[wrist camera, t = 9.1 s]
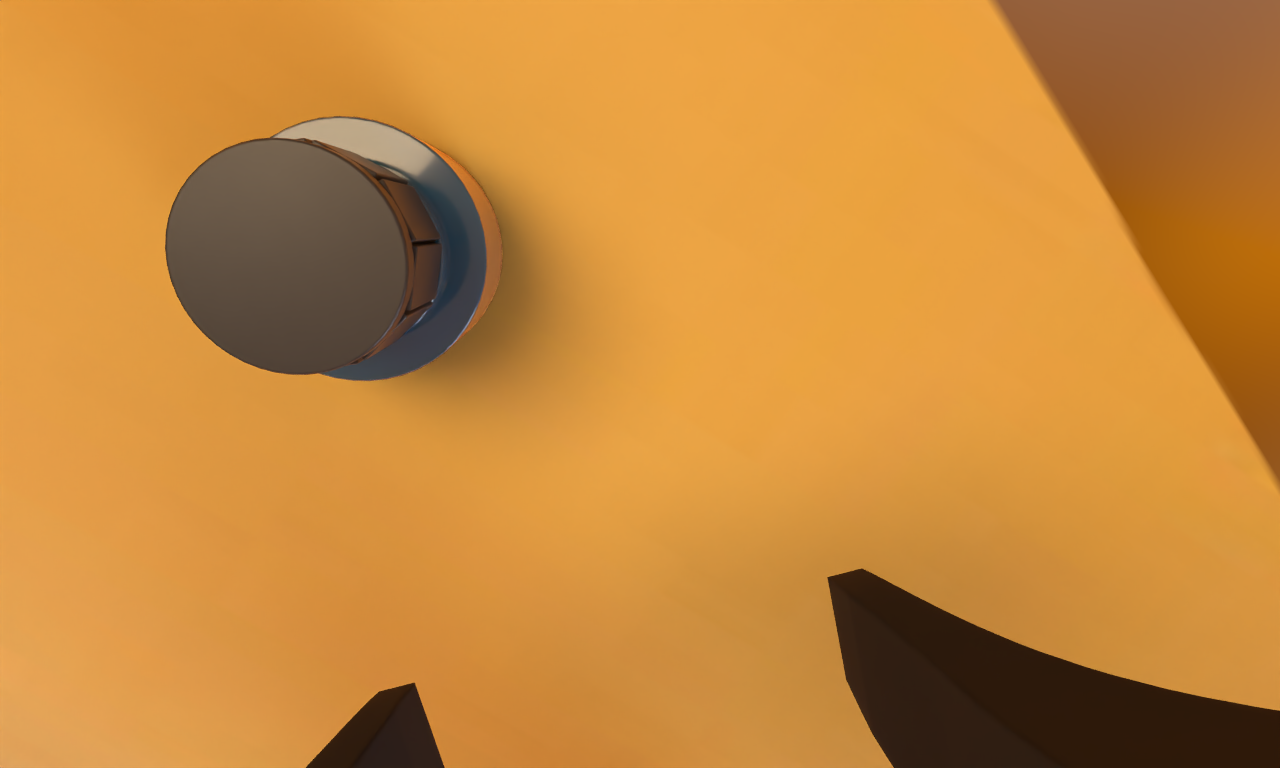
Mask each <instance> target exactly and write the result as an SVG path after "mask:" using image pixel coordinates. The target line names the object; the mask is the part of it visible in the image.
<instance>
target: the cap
mask: <svg viewBox="0 0 1280 768" xmlns="http://www.w3.org/2000/svg"><path fill="white" fill-rule="evenodd" d="M407 184H408V181H407V180H405V179H403V178H401V177H399V176H398V175H396V174H394V173H392V172H390V171H388V170H386V169H384V168H383V167H381V166H379V165H377V164H375V163H373V162H371V161H369V160H368V159H366V158H364V157H362V156H360V155H358V154H356V153H353V152H350V151H347V150H344V149H341V148H338V147H335V146H332V145H329V144H326V143H323V142H320V141H317V140H310V139H307V138H299V139H290V138H262V139H254V140H250V141H245V142H241V143H238V144H236V145H233V146H230V147H228V148H225V149H224V150H222V151H220V152H218V153H216V154H215V155H213V156H211V157H210V158H209V159H207V160H206V161H205V162H204V163H202V164H201V165H200V166H199V167H198V168H197V169H196V170H195V171H194V172H193V173H192V174H191V175H190V176H189V177H188V179H187V180H186V182H185V183H184V185H183V186H182V187H181V189H180V190H179V192H178V194H177V197H176V199H175V201H174V203H173V205H172V208H171V211H170V215H169V218H168V223H167V229H166V244H165V250H166V259H167V266H168V270H169V274H170V278H171V282H172V284H173V287H174V289H175V292H176V294H177V297H178V298H179V300H180V302H181V304H182V306H183V308H184V309H185V311H186V312H187V314H188V315H189V317H190V318H191V319H192V321H193V322H194V323H195V324H196V326H197V327H198V328H199V329H200V330H201V331H202V332H203V333H204V334H205V335H206V336H207V337H208V338H209V339H210V340H211V341H212V342H214V343H215V344H216V345H217V346H219V347H220V348H221V349H223V350H224V351H226V352H227V353H229V354H230V355H232V356H234V357H236V358H238V359H239V360H241V361H243V362H245V363H248V364H250V365H253V366H255V367H258V368H261V369H264V370H268V371H272V372H276V373H283V374H292V375H308V374H317V373H323V372H328V371H332V370H336V369H338V368H341V367H343V366H347V365H354V364H358V363H360V362H361V361H363V360H366V359H368V358H370V357H371V356H373V355H375V354H376V353H378V352H379V351H381V350H383V349H384V348H386V347H388V346H389V345H391V344H392V343H394V342H396V341H397V340H398V339H399V338H400V337H401V336H402V335H403V334H404V333H405V332H406V331H407V330H408V329H409V328H410V327H411V326H412V325H413V324H414V323H415V322H416V321H417V320H418V319H419V318H420V317H421V316H422V315H423V314H424V313H425V312H426V311H427V310H428V309H429V308H430V307H431V306H432V305H433V303H432V302H431V300H433V299H435V298H436V294H437V286H438V278H439V269H440V261H441V253H442V244H441V243H436V242H435V241H437V240H439V239H440V238H441V237H440V235H439V233H438V231H437V229H436V227H435V225H434V224H433V222H432V220H431V218H430V216H429V214H428V213H427V211H426V209H425V207H424V205H423V203H422V201H421V200H420V198H419V196H418V194H417V192H416V190H415V189H414V187H413V186H409V185H407Z"/></svg>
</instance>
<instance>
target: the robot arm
mask: <svg viewBox="0 0 1280 768" xmlns="http://www.w3.org/2000/svg"><path fill="white" fill-rule="evenodd" d="M828 583H829V588H830V593H831V599H832V604H833V610H834V615H835V621H836V626H837V632H838V637H839V642H840V648H841V653H842V659H843V664H844V670H845V675H846V680H847V682H848V684H849V686H850V688H851V691H852V693H853V695H854V697H855V699H856V701H857V703H858V705H859V707H860V710H861V712H862V714H863V716H864V718H865V720H866V722H867V724H868V726H869V728H870V730H871V732H872V734H873V735H874V737H875V739H876V740H877V742H878V743H879V745H880V747H881V748H882V750H883V751H884V753H885V755H886V756H887V758H888V759H889V761H890V762H891V764H892V766H893V767H894V768H1280V711H1277V710H1271V709H1265V708H1259V707H1253V706H1248V705H1243V704H1237V703H1232V702H1227V701H1221V700H1216V699H1211V698H1205V697H1200V696H1196V695H1191V694H1187V693H1182V692H1178V691H1173V690H1169V689H1164V688H1160V687H1156V686H1153V685H1149V684H1145V683H1141V682H1137V681H1133V680H1130V679H1126V678H1122V677H1118V676H1114V675H1111V674H1107V673H1104V672H1100V671H1097V670H1094V669H1090V668H1087V667H1084V666H1081V665H1078V664H1075V663H1072V662H1069V661H1066V660H1063V659H1060V658H1057V657H1054V656H1051V655H1048V654H1045V653H1042V652H1039V651H1037V650H1034V649H1031V648H1029V647H1026V646H1023V645H1021V644H1018V643H1016V642H1013V641H1011V640H1009V639H1006V638H1004V637H1001V636H999V635H997V634H994V633H992V632H990V631H987V630H985V629H983V628H980V627H978V626H976V625H974V624H971V623H969V622H967V621H965V620H963V619H960V618H958V617H956V616H954V615H952V614H950V613H948V612H946V611H944V610H942V609H940V608H938V607H936V606H934V605H932V604H930V603H928V602H926V601H924V600H922V599H920V598H918V597H916V596H914V595H912V594H910V593H908V592H907V591H905V590H903V589H901V588H899V587H897V586H895V585H893V584H891V583H889V582H888V581H886V580H884V579H882V578H880V577H878V576H876V575H874V574H872V573H870V572H868V571H866V570H864V569H858V570H854V571H850V572H846V573H843V574H839V575H835V576H831V577H828ZM306 768H444V765H443V762H442V759H441V757H440V754H439V751H438V748H437V745H436V742H435V739H434V737H433V734H432V731H431V728H430V725H429V722H428V720H427V717H426V714H425V711H424V708H423V705H422V703H421V700H420V697H419V694H418V691H417V688H416V686H415V683H411V684H407V685H403V686H399V687H396V688H392V689H388V690H384V691H380V692H378V693H377V694H376V695H375V696H374V697H373V698H372V699H370V700H369V701H368V702H367V703H366V704H365V705H364V706H363V707H362V708H361V709H360V710H359V711H358V712H357V714H356V715H355V716H354V717H353V718H352V719H351V720H350V721H349V722H348V723H347V724H346V725H345V726H344V727H343V728H342V729H341V730H340V732H339V733H338V734H337V735H336V736H335V737H334V738H333V739H332V740H331V741H330V742H329V743H328V744H327V745H326V747H325V748H324V749H323V750H322V751H321V752H320V753H319V754H318V755H317V756H316V757H315V758H314V759H313V760H312V761H311V762H310V764H309V765H308V766H307V767H306Z"/></svg>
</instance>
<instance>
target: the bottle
mask: <svg viewBox="0 0 1280 768" xmlns="http://www.w3.org/2000/svg"><path fill="white" fill-rule="evenodd" d="M270 138H290V139H299V138H307V139H310V140H317V141H320V142H323V143H326V144H329V145H332V146H335V147H338V148H341V149H344V150H347V151H350V152H353V153H356V154H358V155H360V156H362V157H364V158H366V159H368V160H369V161H371V162H373V163H375V164H377V165H379V166H381V167H383V168H384V169H386V170H388V171H390V172H392V173H394V174H396V175H398V176H399V177H401V178H403V179H405V180H407V181H408V184H407V185H409V186H413V187H414V189H415V190H416V192H417V194H418V196H419V198H420V200H421V201H422V203H423V205H424V207H425V209H426V211H427V213H428V214H429V216H430V218H431V220H432V222H433V224H434V225H435V227H436V229H437V231H438V233H439V235H440V237H441V238H440V239H439V240H437V241H435V242H436V243H441V244H442V253H441V261H440V269H439V278H438V286H437V294H436V298H435V299H433V300H431V302H432V303H433V305H432V306H431V307H430V308H429V309H428V310H427V311H426V312H425V313H424V314H423V315H422V316H421V317H420V318H419V319H418V320H417V321H416V322H415V323H414V324H413V325H412V326H411V327H410V328H409V329H408V330H407V331H406V332H405V333H404V334H403V335H402V336H401V337H400V338H399V339H398V340H397V341H396V342H394V343H392V344H391V345H389V346H388V347H386V348H384V349H383V350H381V351H379V352H378V353H376V354H375V355H373V356H371V357H370V358H368V359H366V360H363V361H361V362H360V363H358V364H354V365H347V366H343V367H341V368H338V369H336V370H332V371H328V372H323V373H319V374H322V375H326V376H330V377H334V378H338V379H345V380H352V381H374V380H384V379H389V378H394V377H398V376H402V375H405V374H408V373H410V372H413V371H415V370H418V369H420V368H422V367H423V366H425V365H427V364H429V363H431V362H433V361H434V360H435V359H437V358H438V357H439V356H441V355H442V354H443V353H445V352H446V351H447V350H448V349H449V348H450V347H451V346H453V345H454V344H455V343H456V342H457V341H458V340H459V339H460V338H461V337H462V336H463V335H465V334H466V333H467V332H468V331H469V330H470V329H471V328H472V327H473V326H474V325H475V324H476V323H477V322H478V321H479V319H480V318H481V317H482V315H483V314H484V313H485V311H486V310H487V308H488V306H489V305H490V303H491V301H492V299H493V297H494V294H495V292H496V289H497V286H498V283H499V279H500V275H501V268H502V240H501V233H500V229H499V225H498V221H497V218H496V215H495V213H494V211H493V208H492V206H491V203H490V202H489V200H488V198H487V196H486V195H485V193H484V191H483V190H482V188H481V187H480V186H479V184H478V183H477V182H476V180H475V179H474V178H473V177H472V176H471V175H470V174H469V173H468V172H467V171H466V170H465V168H463V167H462V166H461V165H460V164H459V163H457V162H456V161H455V160H454V159H452V158H451V157H449V156H448V155H446V154H445V153H443V152H441V151H440V150H438V149H436V148H434V147H433V146H431V145H429V144H427V143H425V142H424V141H422V140H420V139H418V138H416V137H415V136H413V135H411V134H409V133H407V132H405V131H402V130H400V129H398V128H396V127H394V126H391V125H388V124H385V123H382V122H379V121H376V120H370V119H365V118H360V117H346V116H334V117H323V118H317V119H313V120H308V121H304V122H301V123H298V124H296V125H293V126H290V127H288V128H286V129H284V130H282V131H280V132H278V133H277V134H275V135H273V136H271V137H270Z"/></svg>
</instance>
